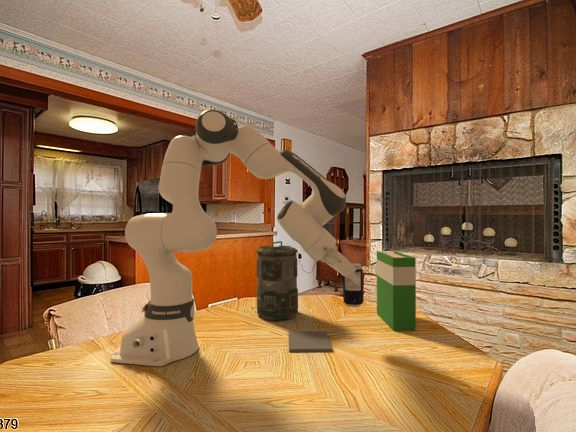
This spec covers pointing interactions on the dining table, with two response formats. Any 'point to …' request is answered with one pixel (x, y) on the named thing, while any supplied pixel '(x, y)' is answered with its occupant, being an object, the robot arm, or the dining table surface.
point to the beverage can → (353, 288)
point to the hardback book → (396, 290)
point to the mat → (308, 341)
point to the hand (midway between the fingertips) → (354, 279)
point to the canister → (277, 282)
